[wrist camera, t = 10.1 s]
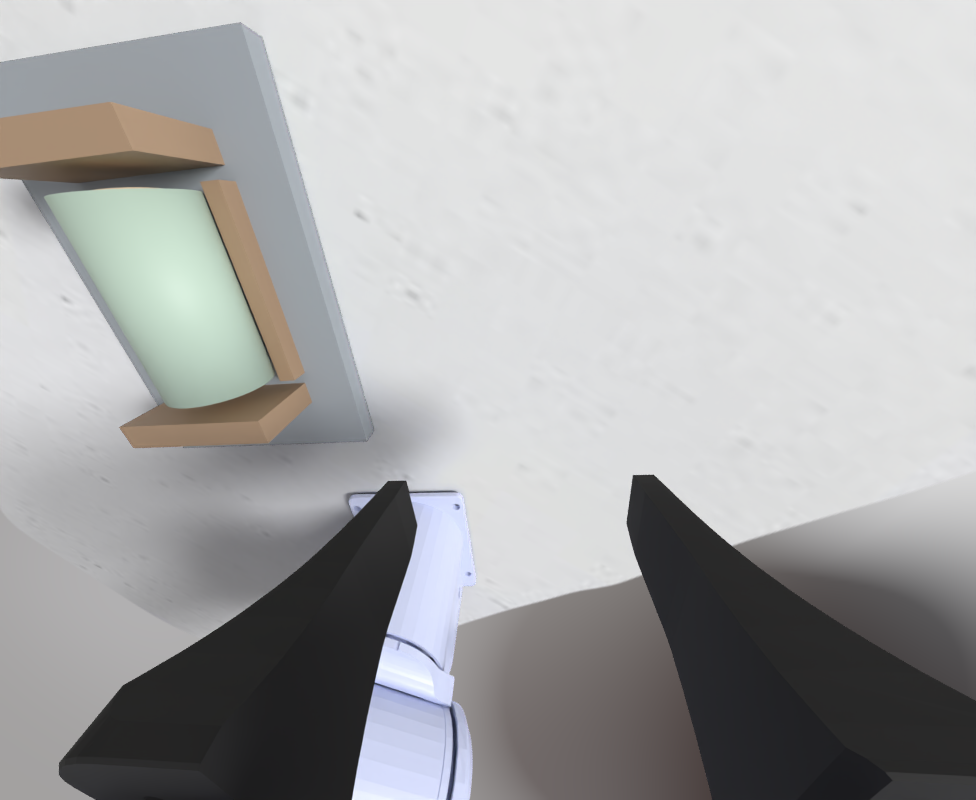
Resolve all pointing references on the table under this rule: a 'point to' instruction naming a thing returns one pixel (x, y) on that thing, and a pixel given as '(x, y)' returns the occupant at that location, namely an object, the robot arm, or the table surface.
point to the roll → (168, 289)
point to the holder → (230, 198)
